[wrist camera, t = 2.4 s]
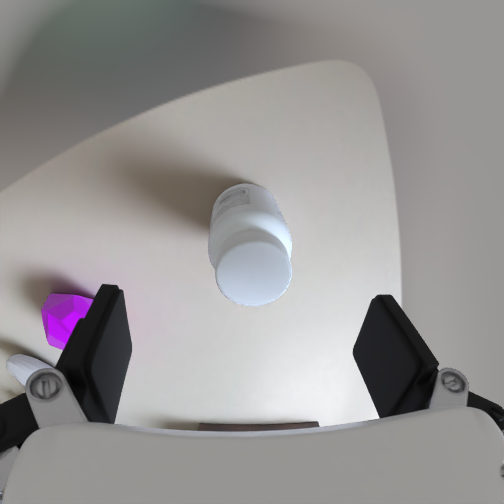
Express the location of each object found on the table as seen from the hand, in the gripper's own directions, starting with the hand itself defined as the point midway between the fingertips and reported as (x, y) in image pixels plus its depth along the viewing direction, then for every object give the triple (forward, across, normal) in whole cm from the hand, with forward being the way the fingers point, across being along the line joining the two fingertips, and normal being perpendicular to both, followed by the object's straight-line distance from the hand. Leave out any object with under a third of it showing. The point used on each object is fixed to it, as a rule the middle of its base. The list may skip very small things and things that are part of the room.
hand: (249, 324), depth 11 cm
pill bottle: (+11, -1, 0) cm, 11 cm away
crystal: (+11, +12, +9) cm, 19 cm away
